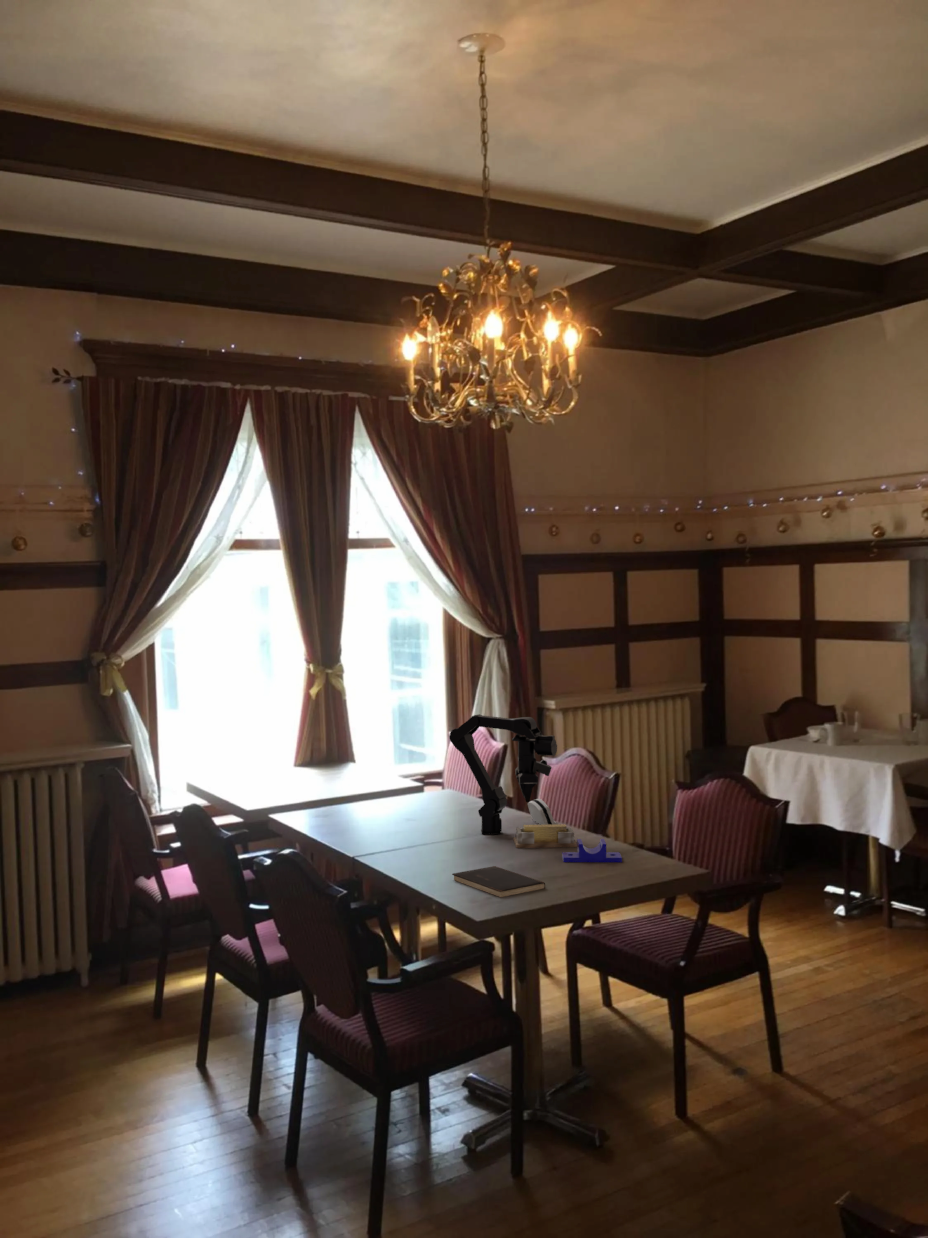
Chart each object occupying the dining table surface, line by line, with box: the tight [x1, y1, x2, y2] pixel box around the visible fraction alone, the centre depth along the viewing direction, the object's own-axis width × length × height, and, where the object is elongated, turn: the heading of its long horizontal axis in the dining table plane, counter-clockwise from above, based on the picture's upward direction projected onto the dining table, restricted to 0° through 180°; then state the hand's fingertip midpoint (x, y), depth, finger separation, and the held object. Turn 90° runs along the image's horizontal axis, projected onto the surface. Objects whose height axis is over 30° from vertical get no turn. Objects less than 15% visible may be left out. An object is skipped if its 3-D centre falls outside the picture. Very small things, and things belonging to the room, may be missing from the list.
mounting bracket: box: [561, 838, 623, 863], centre depth 339 cm, size 18×7×6 cm, turn 88°
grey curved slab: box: [527, 798, 559, 825], centre depth 393 cm, size 17×5×10 cm, turn 14°
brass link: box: [522, 823, 568, 842], centre depth 361 cm, size 14×4×5 cm, turn 93°
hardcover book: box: [451, 865, 546, 898], centre depth 310 cm, size 16×23×2 cm
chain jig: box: [513, 826, 577, 849], centre depth 361 cm, size 20×11×4 cm, turn 92°
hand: (526, 799), depth 372 cm, fingers open, 9 cm apart
